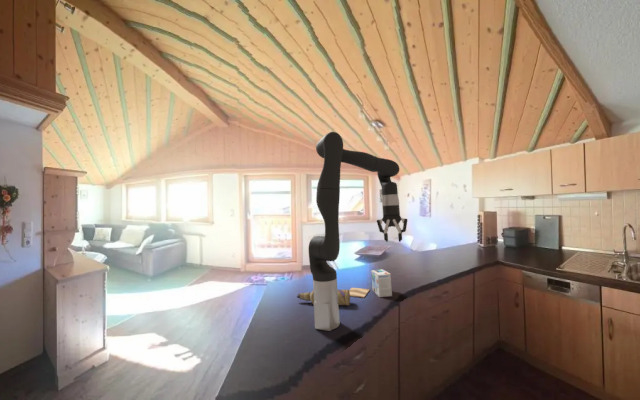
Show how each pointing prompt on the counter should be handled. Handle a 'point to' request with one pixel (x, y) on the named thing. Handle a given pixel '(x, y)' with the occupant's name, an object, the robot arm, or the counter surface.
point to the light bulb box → (381, 283)
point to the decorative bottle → (342, 297)
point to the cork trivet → (358, 292)
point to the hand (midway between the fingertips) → (393, 241)
